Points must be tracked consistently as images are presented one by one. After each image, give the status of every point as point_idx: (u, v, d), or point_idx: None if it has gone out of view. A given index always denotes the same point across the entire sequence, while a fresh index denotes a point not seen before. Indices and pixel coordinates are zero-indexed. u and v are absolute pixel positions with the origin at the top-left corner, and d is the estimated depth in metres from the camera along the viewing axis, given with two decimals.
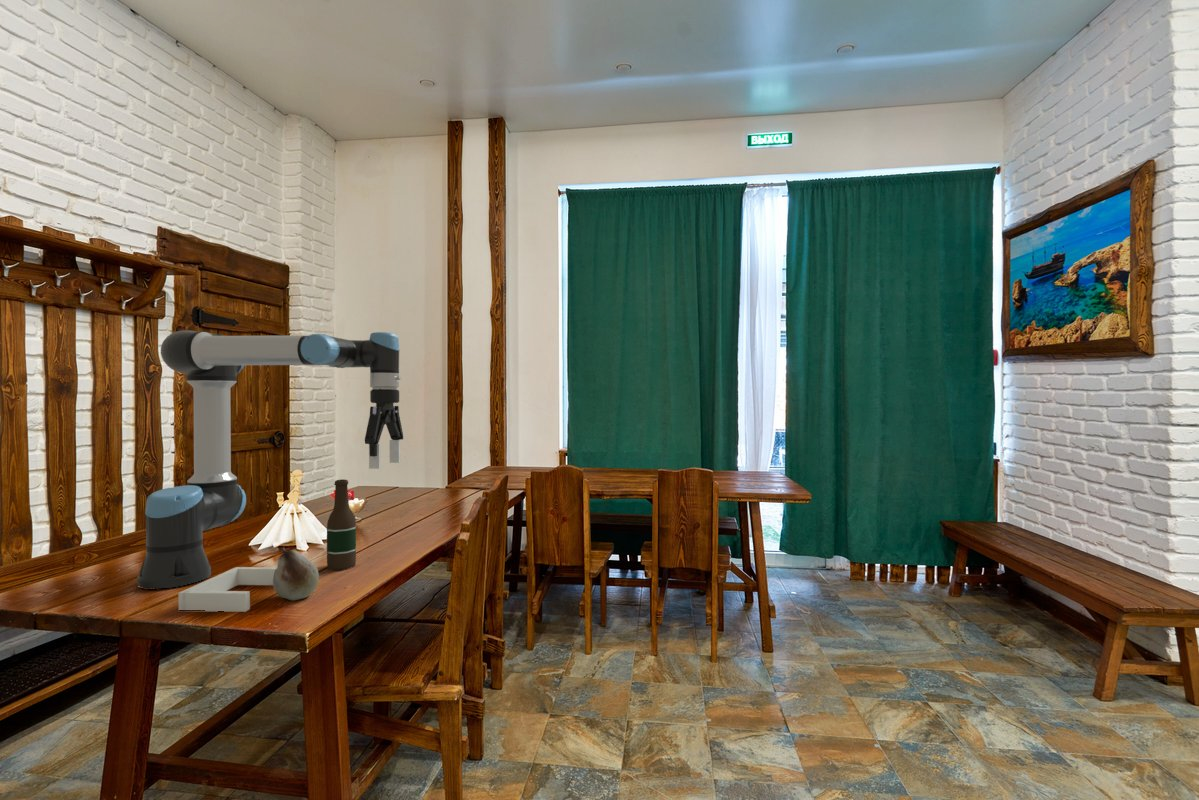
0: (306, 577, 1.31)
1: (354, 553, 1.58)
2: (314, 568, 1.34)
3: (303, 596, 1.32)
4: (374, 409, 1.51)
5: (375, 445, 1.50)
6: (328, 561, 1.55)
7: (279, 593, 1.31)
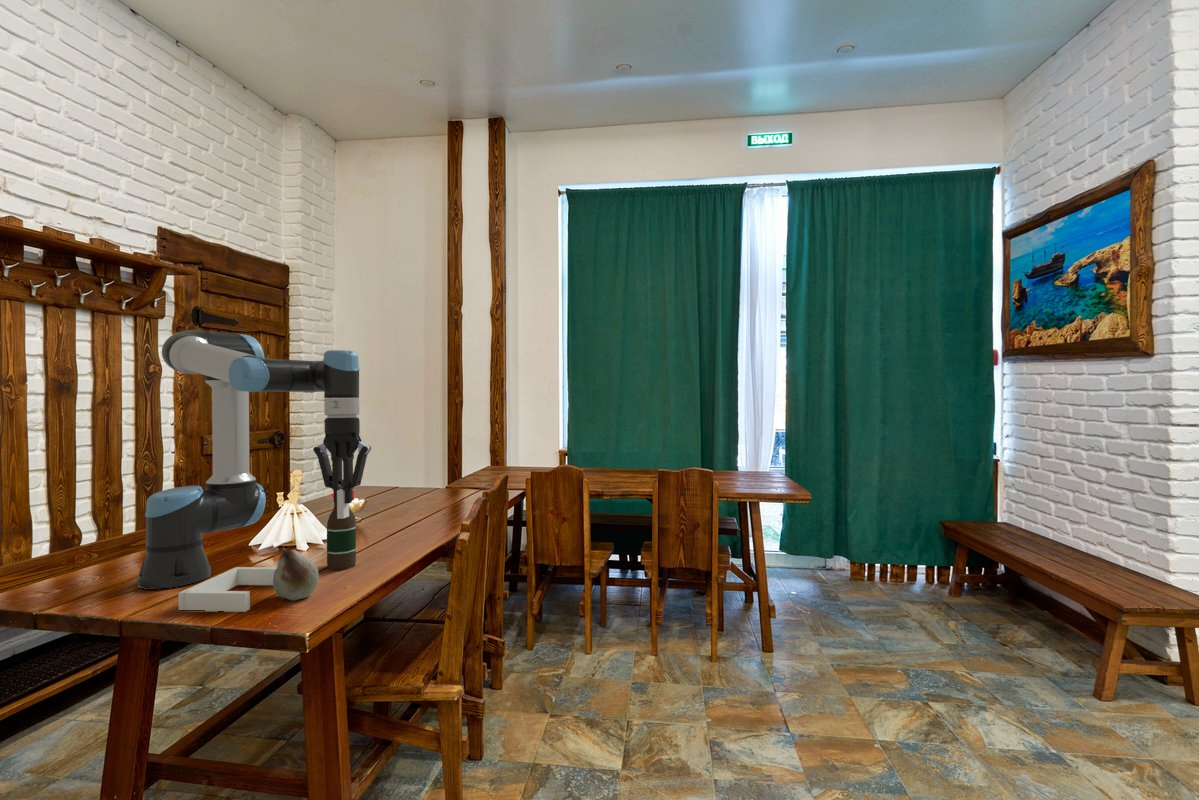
0: (306, 577, 1.31)
1: (354, 553, 1.58)
2: (314, 568, 1.34)
3: (303, 596, 1.32)
4: None
5: (335, 491, 1.33)
6: (328, 561, 1.55)
7: (279, 593, 1.31)
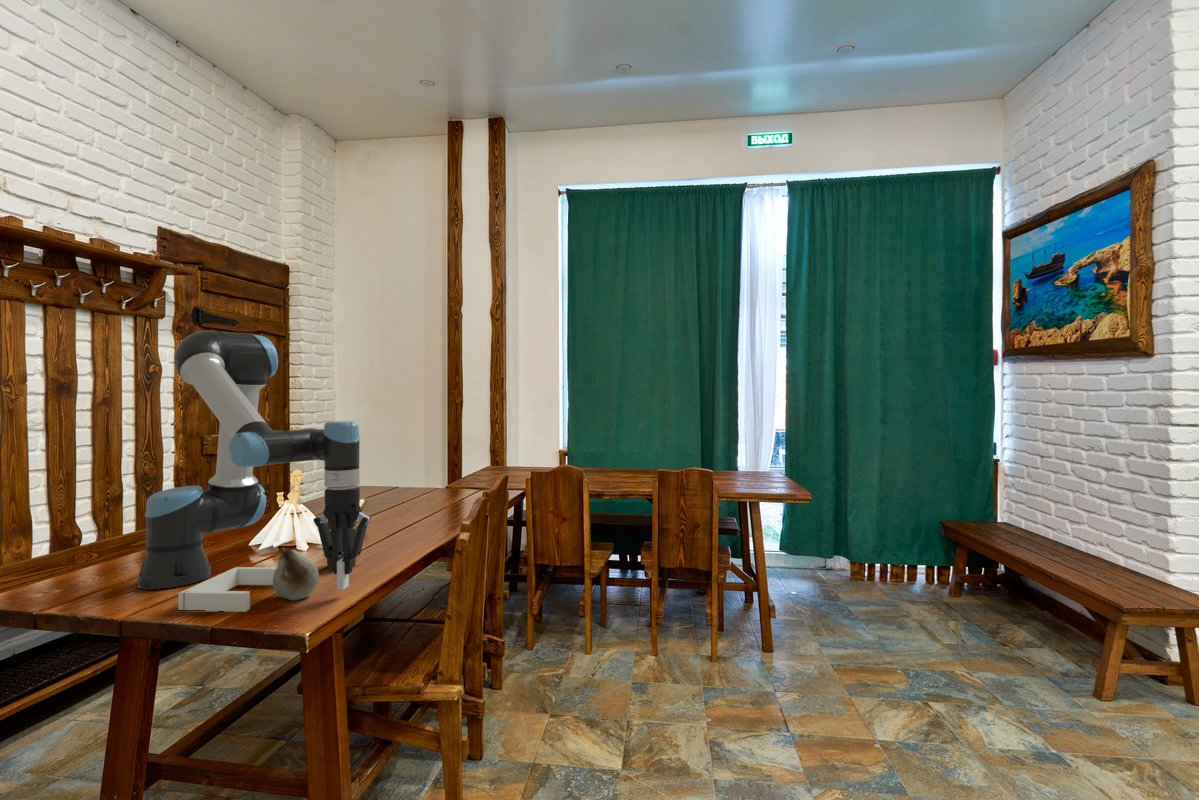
0: (306, 577, 1.31)
1: None
2: (314, 568, 1.34)
3: (303, 596, 1.32)
4: None
5: (335, 562, 1.33)
6: (328, 561, 1.55)
7: (279, 593, 1.31)
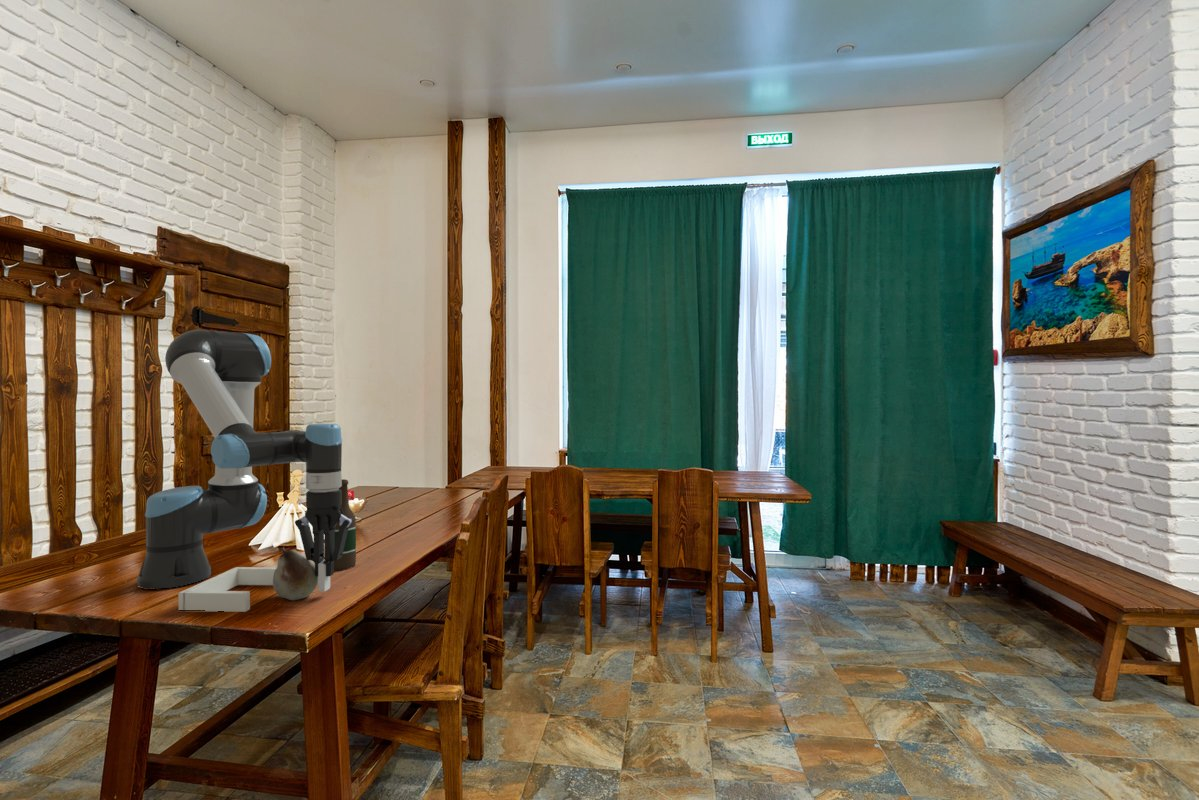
0: (306, 577, 1.31)
1: (354, 553, 1.58)
2: (314, 568, 1.34)
3: (303, 596, 1.32)
4: None
5: (316, 564, 1.34)
6: None
7: (279, 593, 1.31)
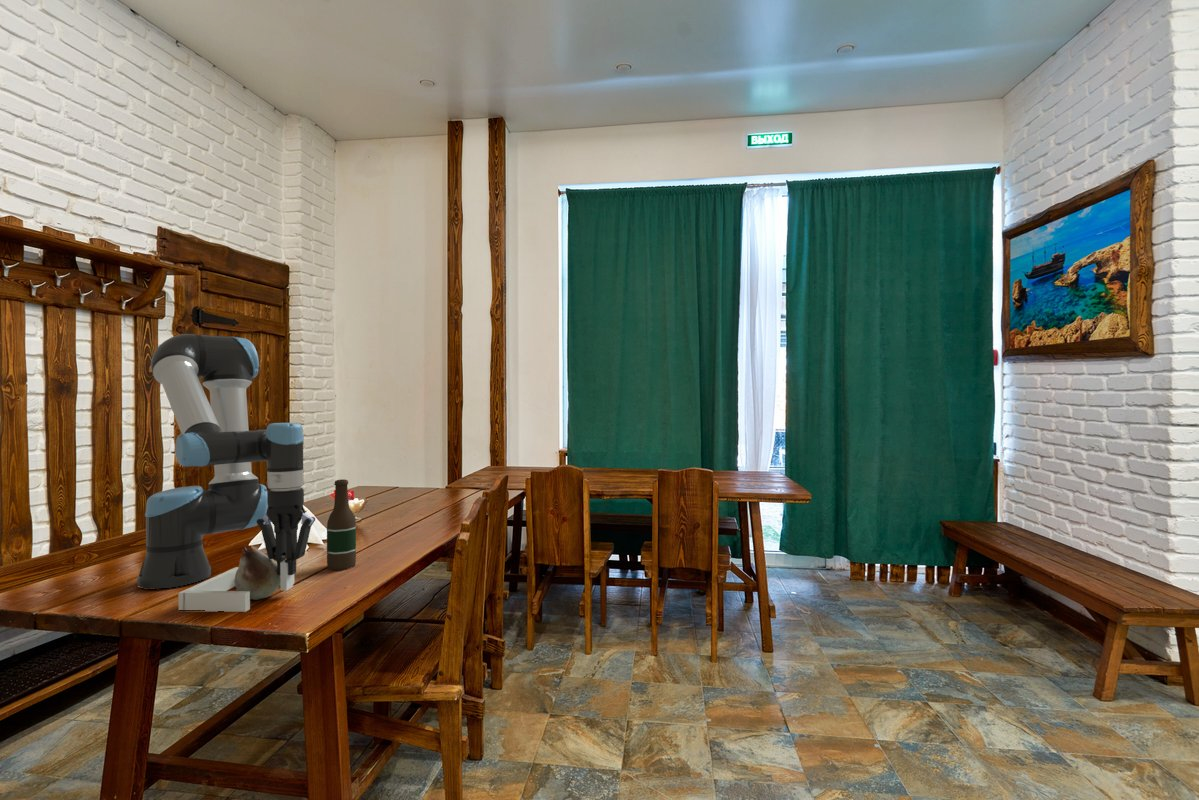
0: (268, 577, 1.32)
1: (354, 553, 1.58)
2: (276, 567, 1.35)
3: (265, 595, 1.32)
4: None
5: (278, 563, 1.34)
6: (328, 561, 1.55)
7: None
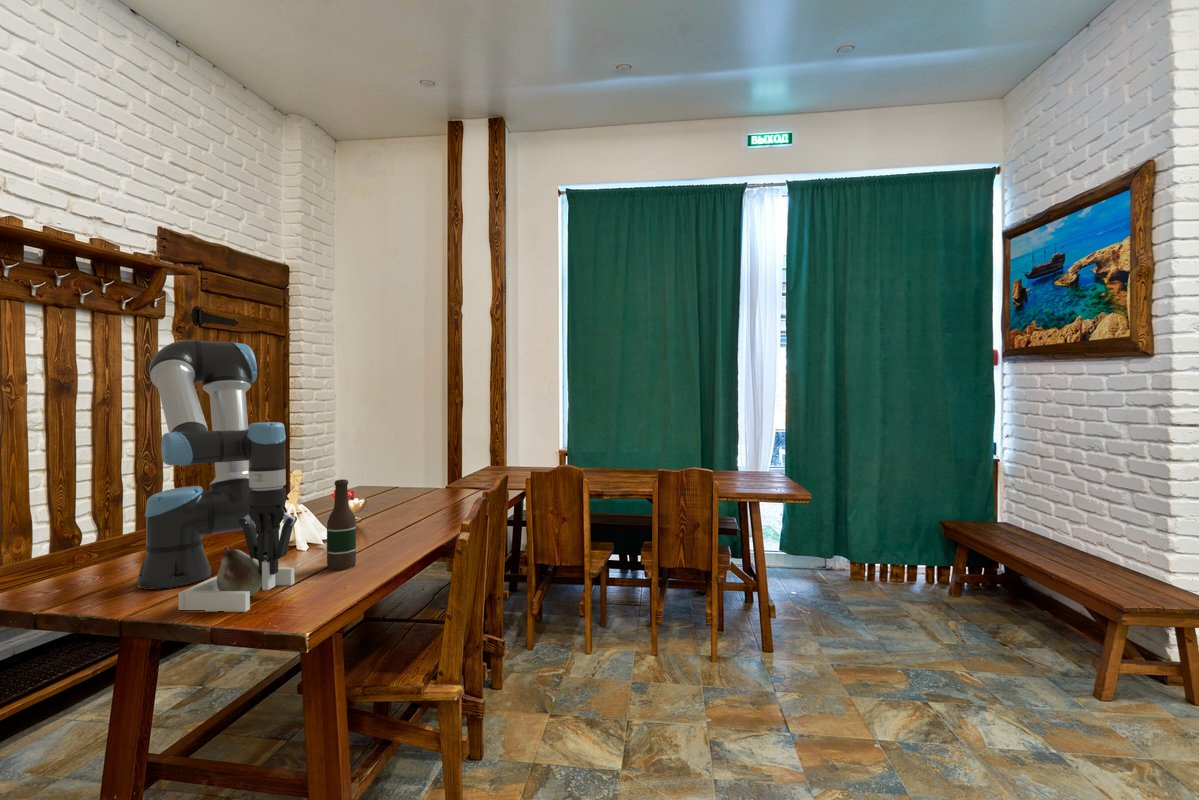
0: (249, 576, 1.32)
1: (354, 553, 1.58)
2: (258, 567, 1.35)
3: None
4: None
5: (260, 562, 1.34)
6: (328, 561, 1.55)
7: None
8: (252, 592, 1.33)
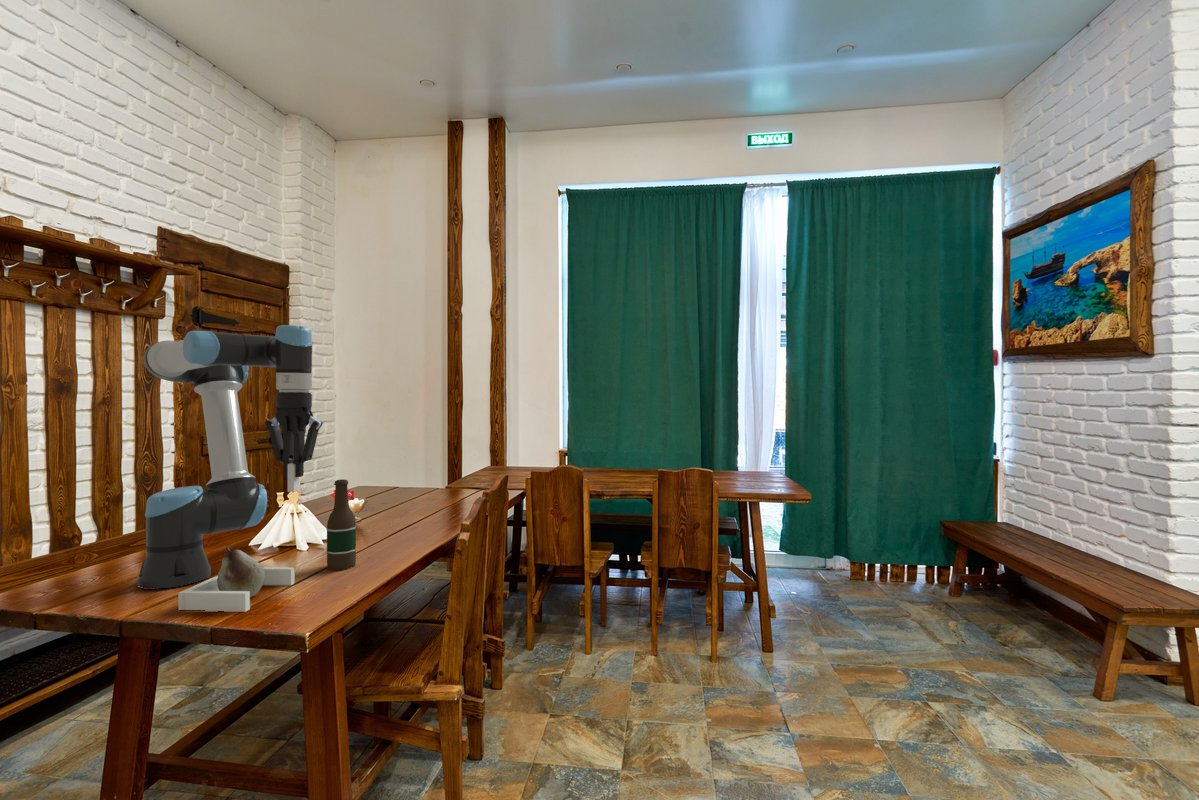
0: (250, 577, 1.31)
1: (354, 553, 1.58)
2: (259, 568, 1.35)
3: None
4: None
5: (286, 465, 1.35)
6: (328, 561, 1.55)
7: None
8: (252, 593, 1.33)
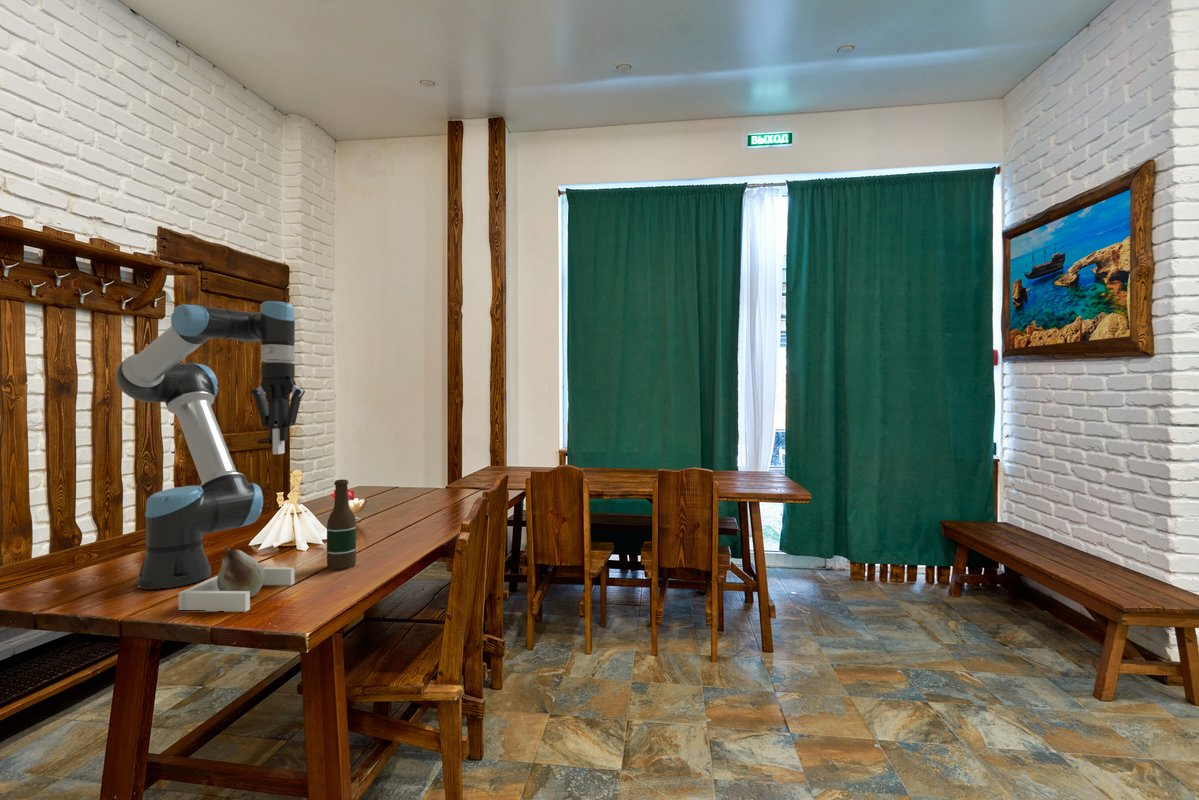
0: (250, 577, 1.31)
1: (354, 553, 1.58)
2: (259, 568, 1.35)
3: None
4: None
5: (271, 429, 1.47)
6: (328, 561, 1.55)
7: None
8: (252, 593, 1.33)
